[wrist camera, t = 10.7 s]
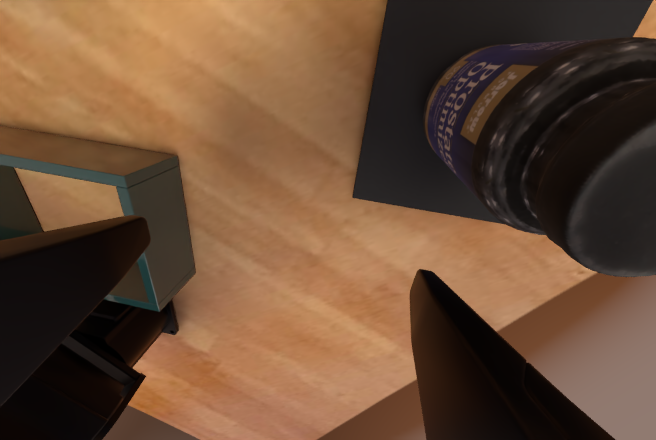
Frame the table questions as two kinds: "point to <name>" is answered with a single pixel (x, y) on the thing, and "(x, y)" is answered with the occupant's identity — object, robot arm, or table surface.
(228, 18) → the table surface
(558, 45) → the pill bottle
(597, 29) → the mat
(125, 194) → the teal open box
